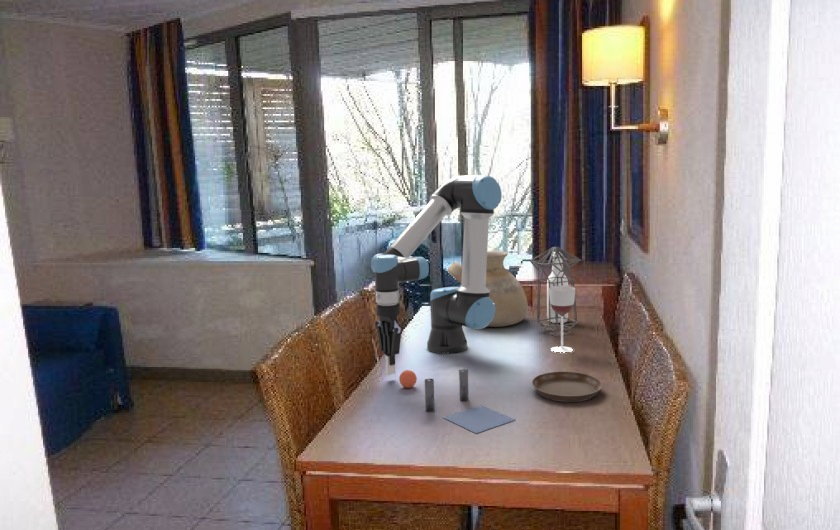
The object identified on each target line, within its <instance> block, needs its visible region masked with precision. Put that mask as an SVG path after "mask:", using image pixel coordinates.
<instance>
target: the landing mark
mask: <svg viewBox="0 0 840 530" xmlns="http://www.w3.org/2000/svg"><path fill="white" fill-rule="evenodd" d="M443 419H445V420H446V421H448V422H451V423H452V424H455V425H457V426H458V427H461V428H463V429H466V430H467V431H469V432H471V433H473V434H475V435H477V434H479V433H483V432H485V431H489V430H492V429H494V428H496V427H497V428H498V427H500V426H503V425H505V424H509V423H511V422H514V421H516V419H515V418H513V417H510V416H508V415H506V414H503V413H501V412H499V411H496V410H494V409H491V408H489V407H487V406H484V405H483V404H482V405H481V404H480V405H477V406H475V407H471V408H469V409H465V410H462V411H460V412H455V413H452V414H449V415H446V416H443Z"/></svg>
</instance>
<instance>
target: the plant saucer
mask: <svg viewBox="0 0 840 530" xmlns="http://www.w3.org/2000/svg"><path fill="white" fill-rule="evenodd" d="M531 385H532V387H533V389H535V391H536V392H537V393H538V394H539V395H541V396H543V397H544V398H546V399H548V400H552V401H556V402H561V403H562V402H563V403H577V402H583V401H587V400H590V399H592V398H594V397H595V396H596V395H597V394H598V393H599V392H600V391H601V389H602V388H603V384H602V381H600V379H598V378H596V377H595V376H593V375H590V374H586V373H581V372H576V371H575V372H574V371H553V372H552V371H549V372H546V373H542V374H539V375H536V376H535V377H534V378H533V379H532V381H531Z"/></svg>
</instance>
